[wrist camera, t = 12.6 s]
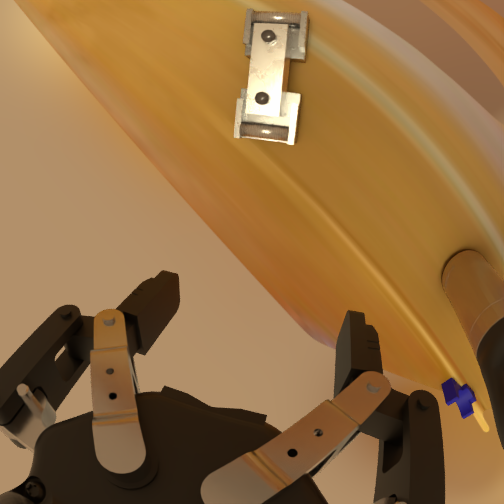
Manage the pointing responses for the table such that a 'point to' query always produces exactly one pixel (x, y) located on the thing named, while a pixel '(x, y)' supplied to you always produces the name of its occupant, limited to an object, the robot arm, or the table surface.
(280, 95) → the metal block with bolts
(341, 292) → the table surface
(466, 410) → the cable clip
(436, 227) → the table surface
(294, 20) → the chain ends
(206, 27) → the table surface
